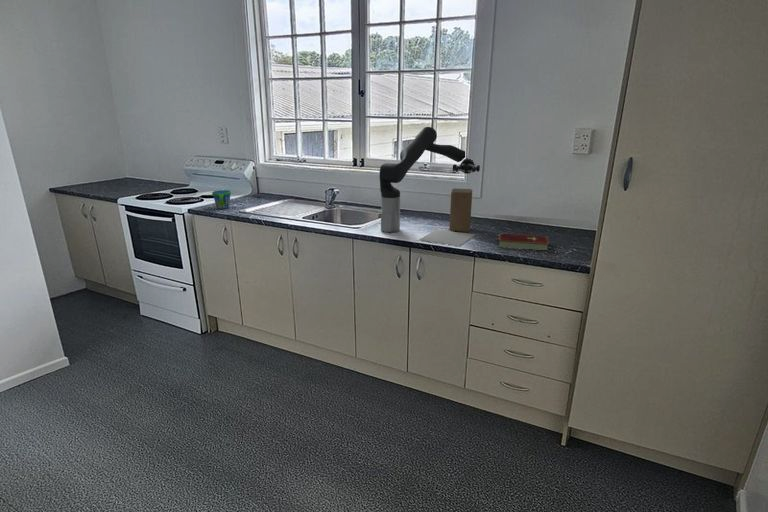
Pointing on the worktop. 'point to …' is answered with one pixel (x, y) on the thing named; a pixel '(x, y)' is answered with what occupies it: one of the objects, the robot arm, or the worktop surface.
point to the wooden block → (460, 210)
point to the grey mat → (447, 237)
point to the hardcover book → (523, 241)
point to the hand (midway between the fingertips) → (465, 170)
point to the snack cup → (222, 198)
